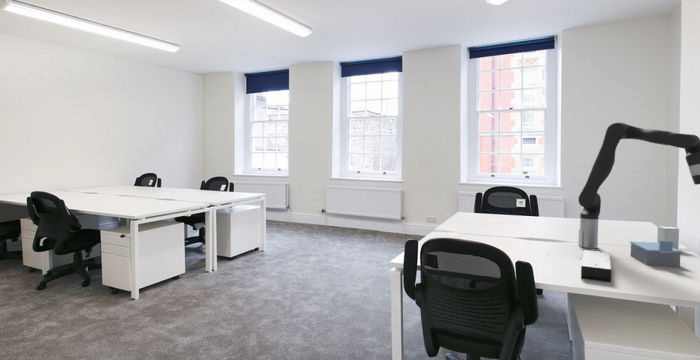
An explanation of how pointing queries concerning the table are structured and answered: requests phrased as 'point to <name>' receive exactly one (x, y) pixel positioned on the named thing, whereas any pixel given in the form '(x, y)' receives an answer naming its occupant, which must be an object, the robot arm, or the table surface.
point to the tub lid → (657, 246)
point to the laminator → (596, 266)
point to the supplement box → (668, 235)
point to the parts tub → (655, 257)
